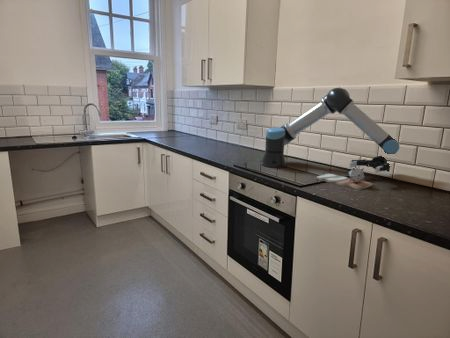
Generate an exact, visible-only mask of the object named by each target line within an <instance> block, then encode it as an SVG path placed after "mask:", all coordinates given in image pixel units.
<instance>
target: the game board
mask: <svg viewBox="0 0 450 338" xmlns="http://www.w3.org/2000/svg"><path fill="white" fill-rule="evenodd" d="M315 180H319V181H322V180H323V181H324V182H328V183H330V184H331V183H332V184H335V185H339V186H343V187H348V188H352V189H356V190H359V191H361V190H364V189H366V188H369V187H372V186H373V182H369V181H364V180H361V181H360V182H354V181H349V180H350V178H349V177H346V176H342V175H338V174H332V173H324V174H320V175H318V176H315ZM357 183H358V184H357Z"/></svg>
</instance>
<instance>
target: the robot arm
mask: <svg viewBox="0 0 450 338" xmlns="http://www.w3.org/2000/svg"><path fill="white" fill-rule="evenodd" d="M336 112H337V113H338V114H340V115H344V116H345V117H346V118H347V119H348V120H349V121H350V122H352V124H354V125H355V126H356V127H357V128H358V129H359V130H360V131H362V132H363V133H364V134H365V135H366V136H368V137H369V139H371V140H372V141H373V142H374V143H375V144H377V146H379V147H380V148H381V150H382V149H383V150H384V152H385V153H387V154H395V153H396V154H397V152H399V150H400V143H399V141H398V142H397V141H396V140H395V139H393V138H392V137H391V136H390V135H389V134H388V133H389V132H387V131H385V130H384V129H383V128H382V127H381V126H379V125H378V124H377V123H376V122H375V121H374V120H373V119H372V118H371V117H369V116H368V115H367V114H366V113H365V112H364V111H362V109H360V108H359V107H358V106H357V105H356V104H355V103H354V100H353V99H352V98H351V97H350V93H349V91H348V90H347V89H345V88H342V87H335V88H332V89H331V90H329V91H328V93H327V94H326V95H324V96H323V97H322V98H321V101H320V102H319V103H317V104H316V105H314V106H313V107H312V108H310V109H309V110H307V111H306V112H304V113H303V114H302V115H300V116H299V117H296V119H295V120H293V121H291V122H290V123H285V124H283V125H281V126H280V127H277V126H276V127H275V126H274V127H269V128H267V129H266V133H265V145H264V146H265V151H264V155H263V157H262V160H261V165H262V166H264V167H266V168H267V167H268V168H275V169H276V168H277V169H278V168H285V167H286V163H287V162H286V160H285V159H286V158H285V155H284V153H285V146H287V145H288V144H290V143H291V142H292V141H294V140H295V139H296V138H297V136H298V134H300V133H301V132H303V131H304V130H306V129H307V128H309V127H311V126H312V125H314V124H316V122H319V121H320V120H321V119H323V118H324V117H326V116H327V115H329V114H331V115H333V114H335V113H336ZM389 165H390V164H389V163H387V160H386V159H385V158H384V157H382V156H381V155H378V156H374V157H372V159H369V160H368V159H366V158H365V159H352V160H351V161H350V162H349V168H350V169H351V168H355V166H356V167H357V166H358V167H359V166H360V167H361V166H364V167H368V168H370V167H371V168H372V169H374V171H375V172H374V173H375V174H377V173H381V172H390V171H391V170H390V169H391V167H390V166H389Z"/></svg>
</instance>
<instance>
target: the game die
mask: <svg viewBox="0 0 450 338" xmlns="http://www.w3.org/2000/svg"><path fill="white" fill-rule="evenodd" d="M364 169H365V168H364V167H363V168H359V167H357V166H355V167H352V169H351V170H348V171H346V173H348V178H350V180H349V181H354V182H360V181H363V180H364V179H367V177H365V173H364ZM357 184H358V183H357Z"/></svg>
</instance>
